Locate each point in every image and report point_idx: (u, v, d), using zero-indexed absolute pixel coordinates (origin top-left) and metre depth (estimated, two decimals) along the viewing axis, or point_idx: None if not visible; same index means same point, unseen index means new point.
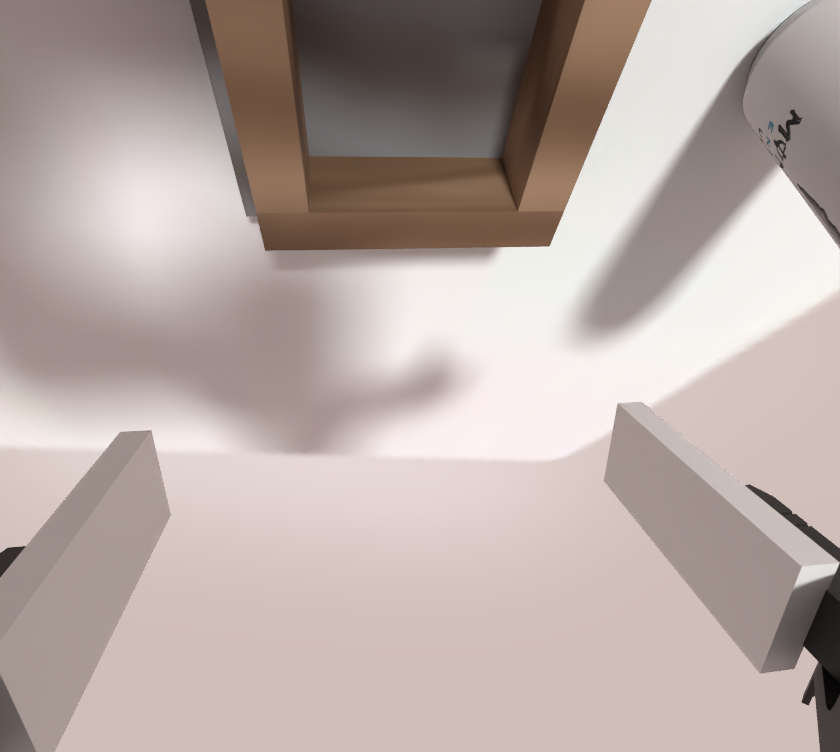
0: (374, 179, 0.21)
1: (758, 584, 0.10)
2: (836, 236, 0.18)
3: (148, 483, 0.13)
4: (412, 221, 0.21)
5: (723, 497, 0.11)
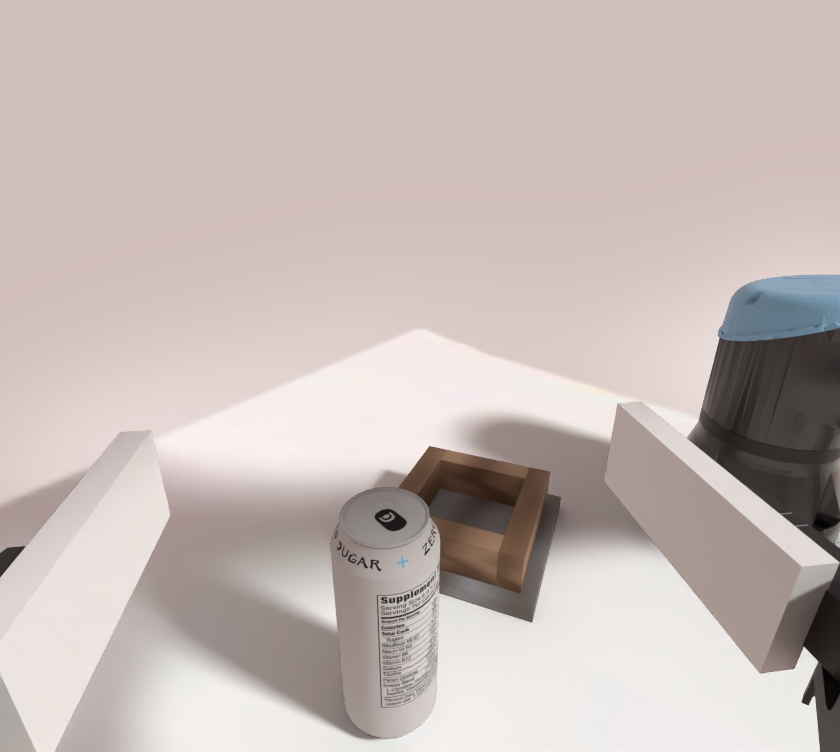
0: (431, 491, 0.49)
1: (758, 584, 0.10)
2: None
3: (148, 483, 0.13)
4: (421, 481, 0.47)
5: (723, 497, 0.11)
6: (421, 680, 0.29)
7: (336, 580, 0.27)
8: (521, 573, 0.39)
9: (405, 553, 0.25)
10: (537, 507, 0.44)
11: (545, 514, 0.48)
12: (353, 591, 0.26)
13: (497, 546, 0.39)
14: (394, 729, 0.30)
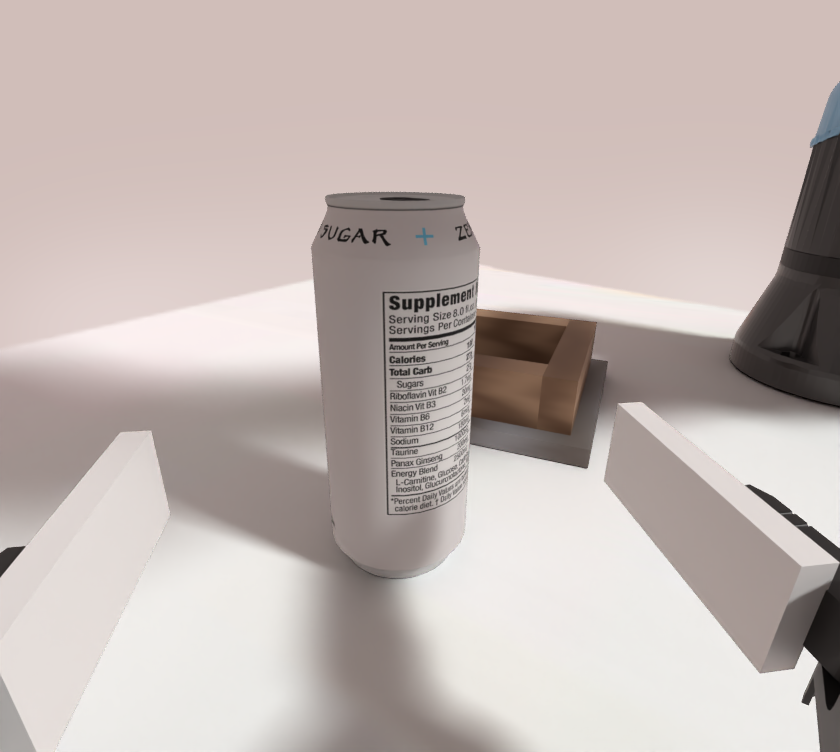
0: None
1: (758, 584, 0.10)
2: None
3: (148, 483, 0.13)
4: None
5: (723, 497, 0.11)
6: (448, 477, 0.19)
7: (319, 295, 0.17)
8: (573, 404, 0.29)
9: (428, 224, 0.16)
10: (586, 345, 0.34)
11: (591, 373, 0.39)
12: (344, 293, 0.16)
13: (540, 372, 0.30)
14: (407, 555, 0.20)
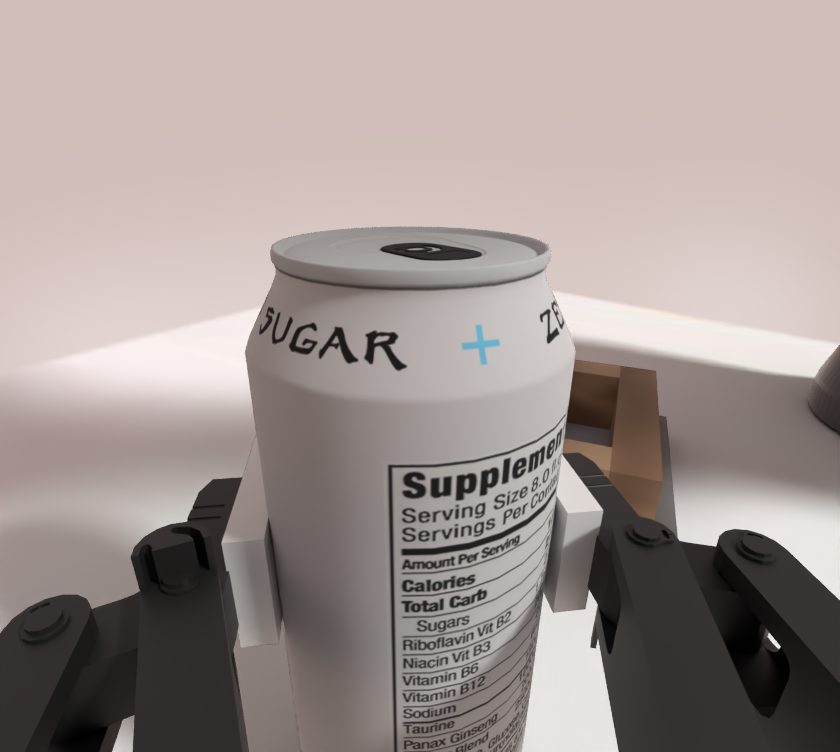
0: None
1: None
2: None
3: None
4: None
5: None
6: (504, 739, 0.11)
7: (261, 442, 0.09)
8: (653, 511, 0.21)
9: (490, 315, 0.07)
10: (655, 411, 0.26)
11: None
12: (307, 458, 0.08)
13: (604, 463, 0.21)
14: None
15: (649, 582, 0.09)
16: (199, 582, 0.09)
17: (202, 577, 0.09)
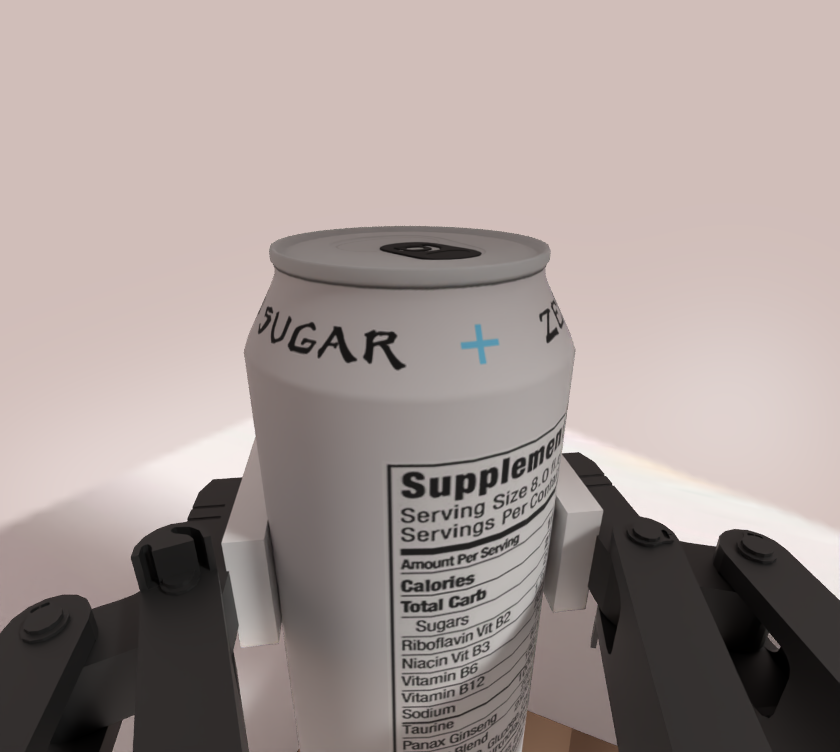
0: None
1: None
2: None
3: None
4: None
5: None
6: (503, 739, 0.11)
7: (260, 441, 0.09)
8: None
9: (489, 314, 0.07)
10: None
11: None
12: (305, 458, 0.08)
13: None
14: None
15: (649, 582, 0.09)
16: (199, 582, 0.09)
17: (202, 577, 0.09)
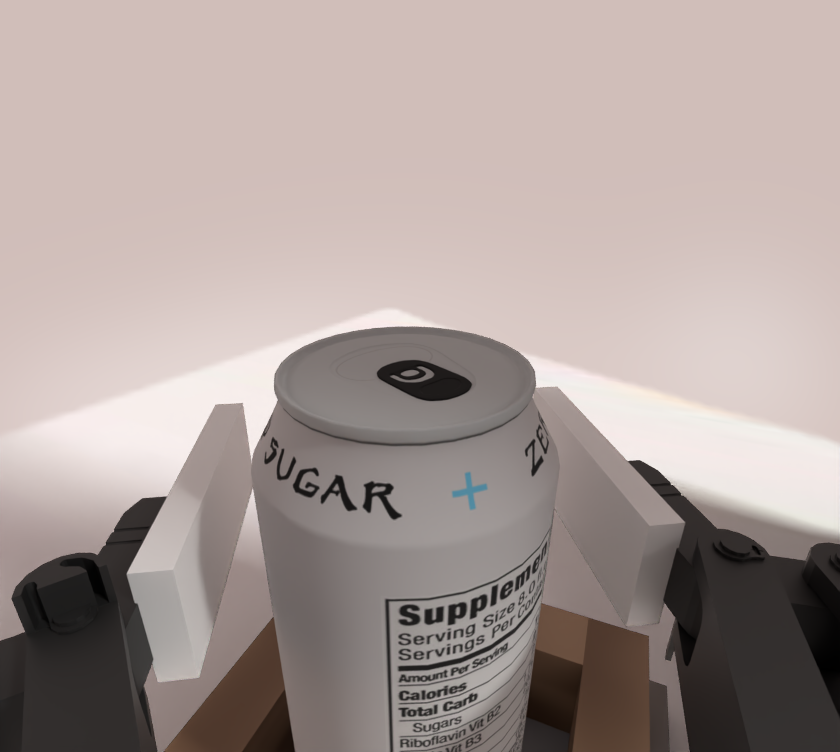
0: None
1: (624, 546, 0.11)
2: None
3: (242, 450, 0.14)
4: (277, 676, 0.16)
5: (601, 468, 0.12)
6: None
7: (267, 556, 0.09)
8: None
9: (477, 462, 0.08)
10: None
11: None
12: (310, 586, 0.08)
13: None
14: None
15: (735, 596, 0.08)
16: (96, 616, 0.08)
17: (99, 610, 0.08)
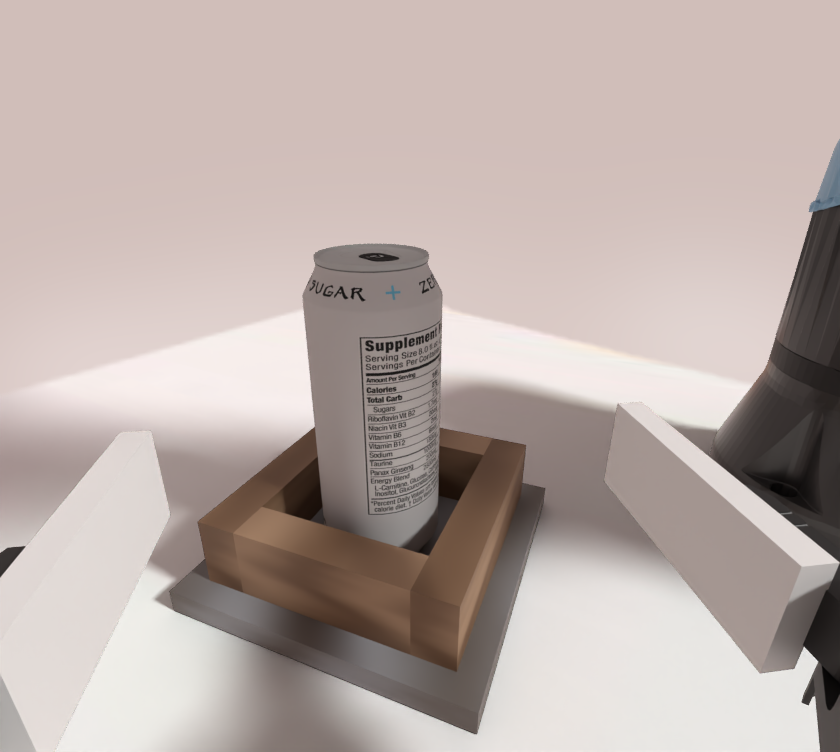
0: None
1: (758, 584, 0.10)
2: None
3: (148, 483, 0.13)
4: (305, 458, 0.28)
5: (723, 497, 0.11)
6: (419, 483, 0.23)
7: (309, 336, 0.21)
8: (456, 634, 0.19)
9: (396, 282, 0.20)
10: (498, 503, 0.24)
11: (518, 516, 0.29)
12: (329, 337, 0.20)
13: (410, 579, 0.20)
14: None
15: None
16: None
17: None
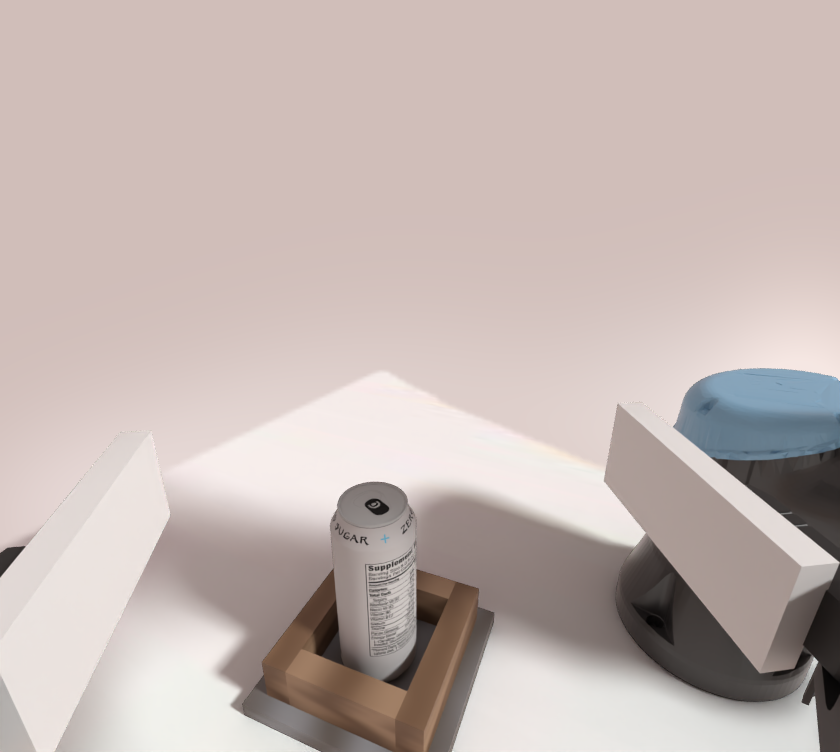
0: None
1: (758, 584, 0.10)
2: None
3: (148, 483, 0.13)
4: (327, 602, 0.41)
5: (723, 497, 0.11)
6: (402, 635, 0.37)
7: (334, 553, 0.35)
8: (422, 745, 0.32)
9: (387, 531, 0.33)
10: (454, 645, 0.37)
11: (472, 639, 0.42)
12: (347, 561, 0.33)
13: (395, 710, 0.33)
14: (381, 675, 0.37)
15: None
16: None
17: None
